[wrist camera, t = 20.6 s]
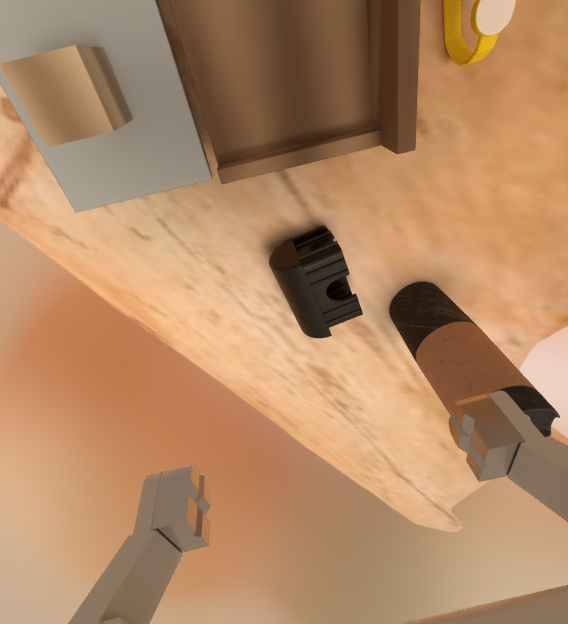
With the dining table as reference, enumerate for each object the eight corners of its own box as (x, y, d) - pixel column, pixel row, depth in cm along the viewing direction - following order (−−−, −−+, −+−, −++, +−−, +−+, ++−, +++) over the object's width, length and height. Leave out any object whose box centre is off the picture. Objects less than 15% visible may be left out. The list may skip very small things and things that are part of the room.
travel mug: (375, 313, 46) (455, 450, 30) (417, 269, 42) (533, 396, 26) (412, 334, 49) (503, 468, 33) (454, 295, 46) (577, 422, 30)
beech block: (103, 47, 21) (74, 44, 17) (133, 119, 24) (113, 131, 20) (41, 63, 21) (-2, 63, 17) (77, 133, 24) (46, 147, 20)
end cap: (264, 246, 38) (271, 277, 32) (324, 220, 37) (341, 247, 32) (296, 311, 44) (306, 346, 38) (349, 290, 43) (366, 323, 38)
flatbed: (347, -126, 23) (429, -251, 14) (361, 135, 32) (414, 165, 23) (155, -77, 23) (107, -168, 14) (225, 169, 33) (225, 211, 23)
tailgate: (128, -85, 18) (-69, -34, 18) (211, 179, 27) (75, 212, 27) (135, -74, 20) (-48, -28, 20) (212, 173, 28) (83, 205, 28)
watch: (430, -17, 27) (473, -43, 22) (465, -33, 27) (517, -62, 22) (437, 71, 30) (477, 66, 25) (469, 58, 30) (515, 50, 25)
